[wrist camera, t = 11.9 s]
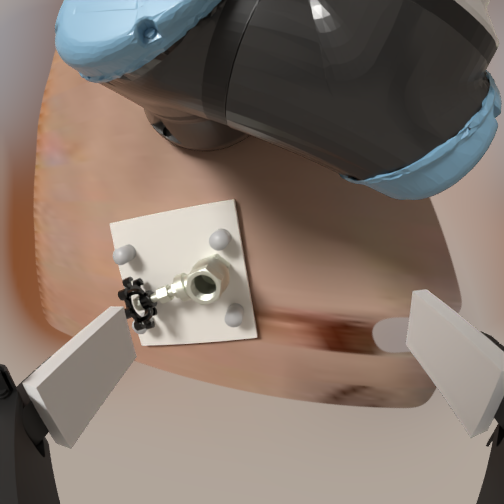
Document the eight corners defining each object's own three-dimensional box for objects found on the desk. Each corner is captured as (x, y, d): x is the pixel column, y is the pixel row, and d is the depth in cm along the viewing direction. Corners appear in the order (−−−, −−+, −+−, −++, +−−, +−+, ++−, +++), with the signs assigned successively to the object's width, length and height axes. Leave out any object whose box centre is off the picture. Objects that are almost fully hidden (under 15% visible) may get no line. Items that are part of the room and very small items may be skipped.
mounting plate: (113, 222, 35) (99, 226, 31) (234, 198, 33) (230, 200, 30) (144, 342, 38) (135, 354, 35) (257, 333, 37) (256, 347, 33)
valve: (220, 236, 33) (134, 271, 35) (208, 247, 27) (109, 288, 28) (242, 288, 34) (157, 317, 36) (236, 311, 28) (137, 342, 29)
